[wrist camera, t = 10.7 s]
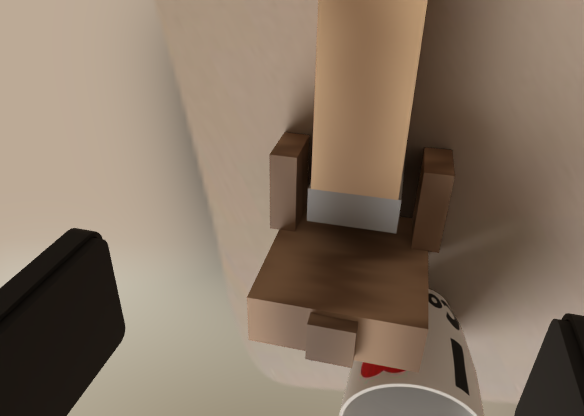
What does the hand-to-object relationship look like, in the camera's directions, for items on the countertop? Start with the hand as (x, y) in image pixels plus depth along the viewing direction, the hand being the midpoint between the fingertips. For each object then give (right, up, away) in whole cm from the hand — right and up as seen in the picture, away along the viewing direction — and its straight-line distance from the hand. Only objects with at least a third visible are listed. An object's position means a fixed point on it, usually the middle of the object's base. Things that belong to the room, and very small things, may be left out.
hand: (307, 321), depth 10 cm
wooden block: (+4, +10, +17) cm, 20 cm away
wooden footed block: (+4, +3, +21) cm, 22 cm away
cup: (+9, -5, +25) cm, 27 cm away
